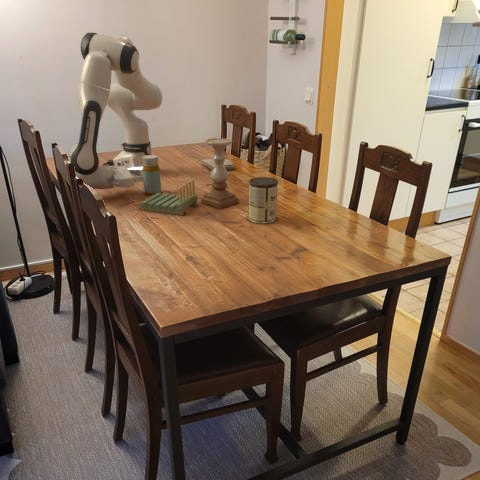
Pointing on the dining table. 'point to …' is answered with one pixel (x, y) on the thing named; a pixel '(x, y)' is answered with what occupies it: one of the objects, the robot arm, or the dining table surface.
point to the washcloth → (211, 164)
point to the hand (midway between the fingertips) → (141, 174)
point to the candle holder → (219, 177)
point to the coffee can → (262, 199)
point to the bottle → (151, 175)
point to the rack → (171, 201)
